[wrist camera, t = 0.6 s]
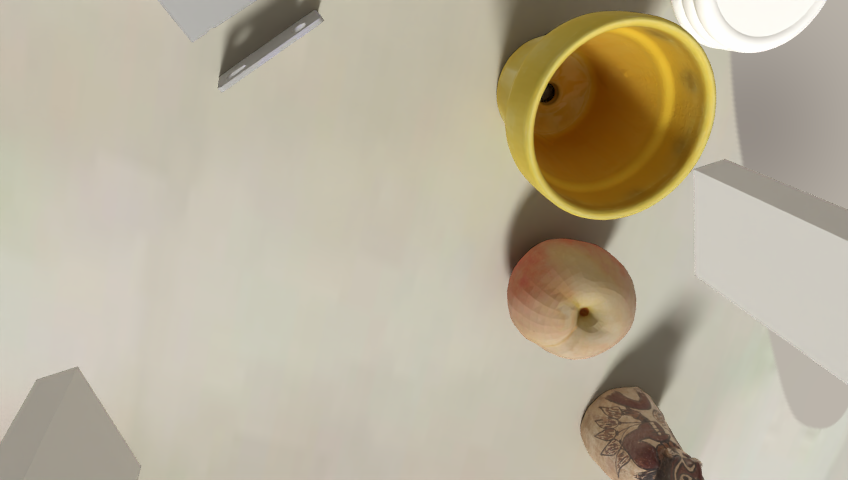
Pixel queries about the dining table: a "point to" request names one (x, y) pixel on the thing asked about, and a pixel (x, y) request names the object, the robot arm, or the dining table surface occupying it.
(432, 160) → the dining table surface
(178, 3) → the bracket
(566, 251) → the fruit
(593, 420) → the figurine
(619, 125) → the plant pot
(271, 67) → the dining table surface
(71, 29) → the dining table surface
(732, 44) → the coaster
